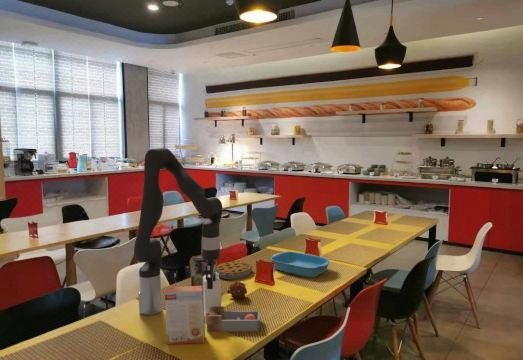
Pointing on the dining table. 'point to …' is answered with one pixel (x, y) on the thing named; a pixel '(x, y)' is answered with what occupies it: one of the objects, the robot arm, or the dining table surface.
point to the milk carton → (212, 294)
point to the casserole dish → (300, 263)
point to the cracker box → (185, 315)
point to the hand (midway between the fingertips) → (211, 284)
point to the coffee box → (197, 270)
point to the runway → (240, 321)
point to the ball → (250, 317)
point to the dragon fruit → (237, 290)
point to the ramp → (215, 319)
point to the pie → (233, 269)
